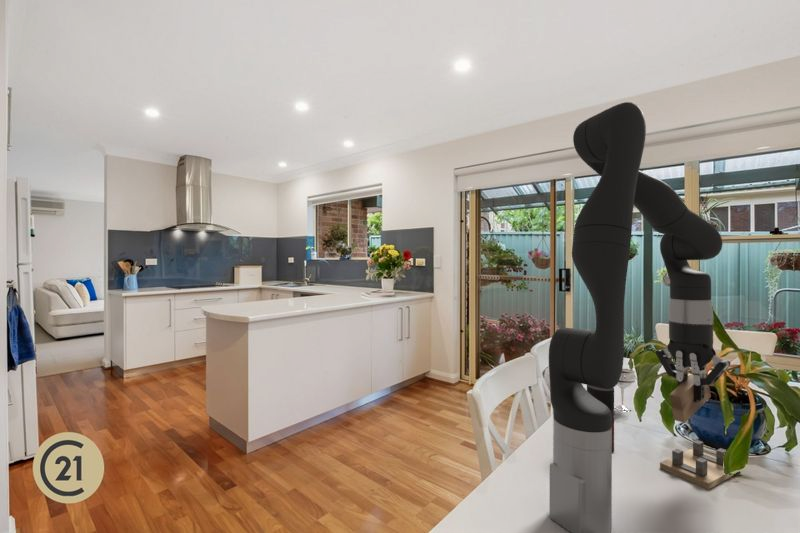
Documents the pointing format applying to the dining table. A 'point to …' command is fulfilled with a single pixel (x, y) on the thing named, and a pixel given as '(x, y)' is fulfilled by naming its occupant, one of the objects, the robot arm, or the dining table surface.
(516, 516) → the dining table surface
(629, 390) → the dining table surface
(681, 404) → the brown block
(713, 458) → the wooden base with pegs
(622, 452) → the dining table surface
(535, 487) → the dining table surface
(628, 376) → the wineglass
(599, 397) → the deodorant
